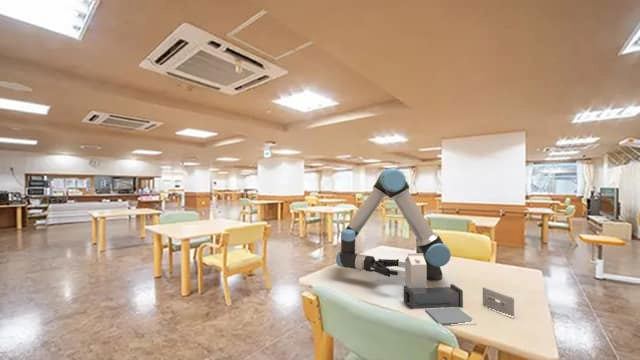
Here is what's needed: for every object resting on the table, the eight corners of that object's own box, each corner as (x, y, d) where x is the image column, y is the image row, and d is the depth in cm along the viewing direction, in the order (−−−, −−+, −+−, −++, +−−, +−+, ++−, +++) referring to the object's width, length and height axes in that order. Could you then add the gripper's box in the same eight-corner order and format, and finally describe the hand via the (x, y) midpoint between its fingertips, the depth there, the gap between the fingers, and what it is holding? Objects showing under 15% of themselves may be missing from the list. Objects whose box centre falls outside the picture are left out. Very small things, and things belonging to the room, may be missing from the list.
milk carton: (405, 291, 126) (405, 251, 127) (419, 291, 127) (419, 251, 127) (411, 298, 119) (411, 255, 120) (426, 298, 120) (426, 255, 120)
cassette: (481, 305, 112) (481, 287, 112) (484, 305, 113) (484, 286, 113) (512, 319, 101) (512, 298, 102) (515, 318, 102) (515, 297, 102)
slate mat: (458, 309, 108) (458, 307, 108) (476, 324, 98) (476, 321, 98) (425, 311, 107) (425, 309, 107) (439, 325, 96) (439, 323, 96)
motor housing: (453, 300, 118) (452, 284, 118) (462, 307, 111) (462, 290, 111) (402, 301, 116) (402, 285, 116) (409, 309, 109) (409, 292, 109)
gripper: (373, 264, 146) (414, 270, 135) (356, 277, 125) (402, 286, 114) (373, 250, 146) (414, 255, 136) (356, 261, 125) (402, 269, 114)
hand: (409, 270), depth 125 cm, fingers open, 13 cm apart
